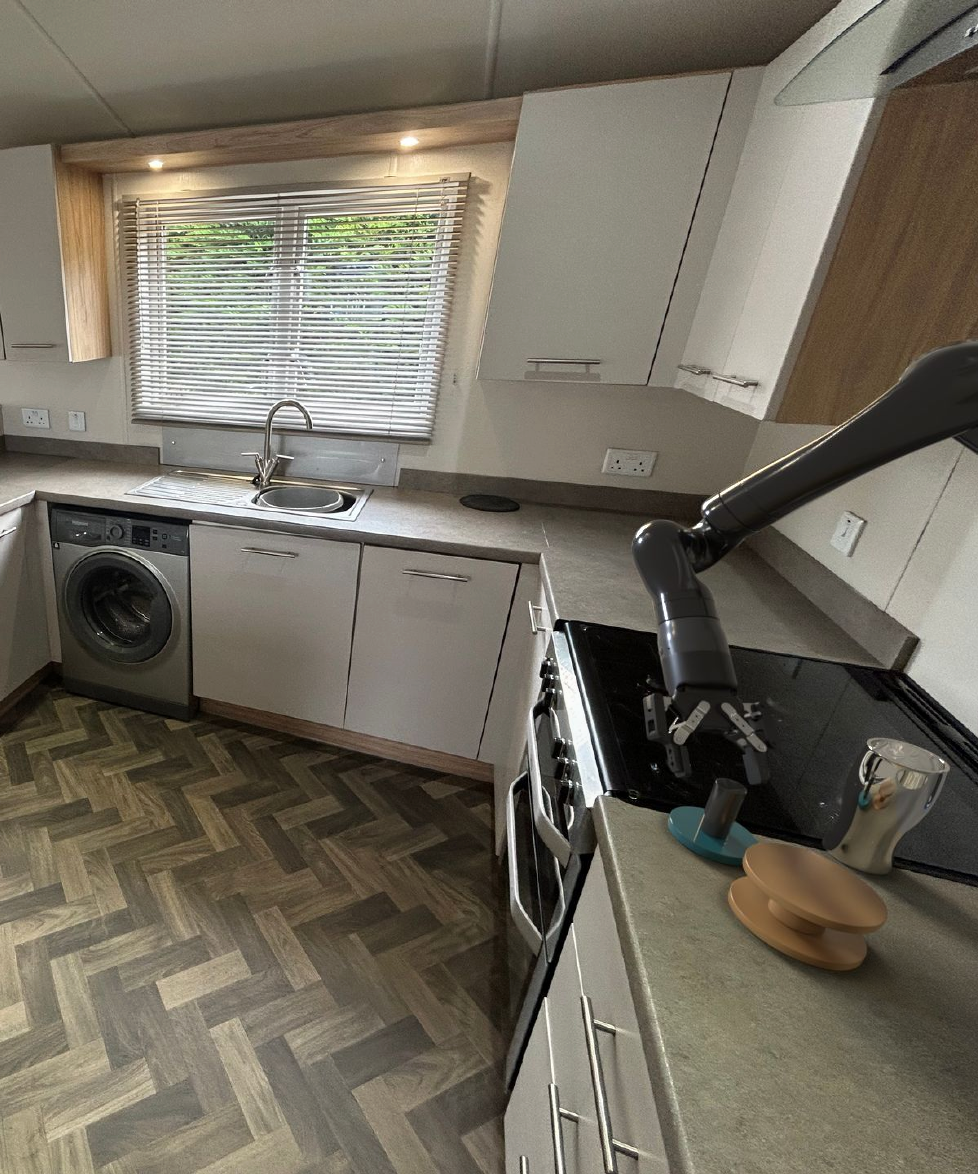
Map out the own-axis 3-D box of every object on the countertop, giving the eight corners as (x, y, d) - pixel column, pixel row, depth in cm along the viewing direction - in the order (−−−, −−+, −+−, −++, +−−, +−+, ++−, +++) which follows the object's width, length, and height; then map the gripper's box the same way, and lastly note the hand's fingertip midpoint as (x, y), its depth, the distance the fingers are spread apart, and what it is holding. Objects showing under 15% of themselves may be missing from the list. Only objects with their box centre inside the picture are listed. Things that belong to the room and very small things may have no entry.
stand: (809, 888, 72) (829, 848, 70) (894, 978, 62) (921, 933, 60) (705, 877, 74) (721, 837, 71) (772, 962, 63) (793, 919, 61)
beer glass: (809, 827, 81) (855, 729, 76) (883, 848, 78) (937, 748, 73) (825, 862, 76) (876, 760, 70) (905, 887, 72) (965, 781, 67)
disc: (726, 817, 83) (747, 766, 80) (774, 869, 75) (800, 815, 72) (653, 810, 84) (670, 759, 81) (692, 861, 76) (714, 806, 73)
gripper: (653, 644, 82) (677, 771, 76) (773, 652, 80) (808, 783, 74) (623, 660, 89) (642, 778, 83) (733, 669, 87) (762, 790, 81)
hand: (721, 780), depth 78 cm, fingers open, 8 cm apart
